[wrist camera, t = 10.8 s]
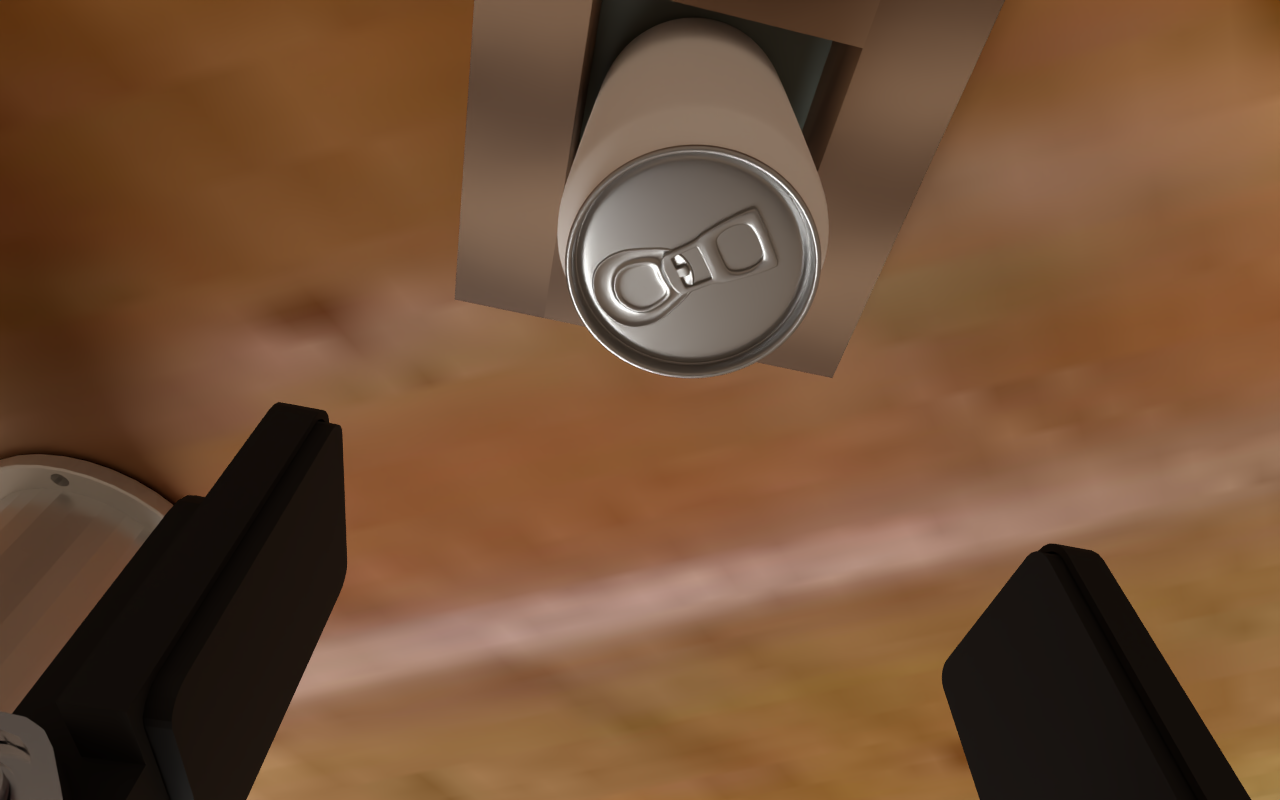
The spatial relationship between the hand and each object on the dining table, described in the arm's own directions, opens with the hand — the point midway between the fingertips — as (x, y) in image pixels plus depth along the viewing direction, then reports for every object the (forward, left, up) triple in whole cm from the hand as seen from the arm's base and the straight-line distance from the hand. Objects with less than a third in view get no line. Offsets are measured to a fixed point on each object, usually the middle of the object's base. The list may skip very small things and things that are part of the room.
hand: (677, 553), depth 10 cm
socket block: (0, 0, -20) cm, 20 cm away
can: (0, 0, -20) cm, 20 cm away
